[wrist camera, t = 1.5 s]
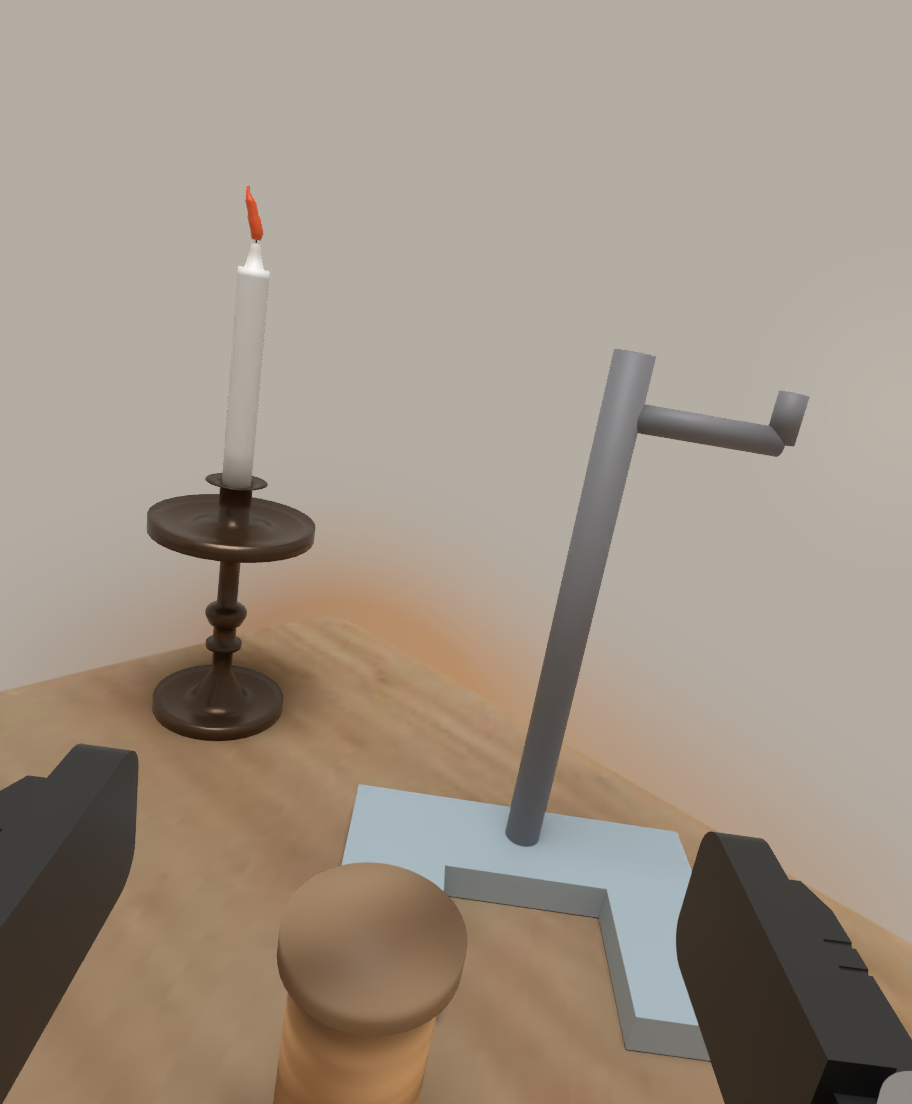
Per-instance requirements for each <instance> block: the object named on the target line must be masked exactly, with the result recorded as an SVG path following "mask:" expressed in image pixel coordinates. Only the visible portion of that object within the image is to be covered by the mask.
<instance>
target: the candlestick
mask: <svg viewBox="0 0 912 1104" xmlns="http://www.w3.org/2000/svg"><path fill="white" fill-rule="evenodd" d="M246 205H247V210H248V221H249V225H250V230H251V237H252V239H255V240H256V243H252V244H251V250H250V252H249V255H248V258H247V260H246V263H245V266H244V267H242V266H238V275H237V289H236V302H235V317H234V329H233V342H232V355H231V369H230V382H229V396H228V409H227V423H226V436H225V437H226V438H225V450H224V463H223V473H217V474H211V475H209V476H207V477H206V481H207V482H208V483H210V484H212V485H215V486H218V487H220V494H201V495H200V494H199V495H187V496H180V497H174V498H170V499H167V500H163V501H161V502H159V503H156V504H155V505H153V506H152V507H150V509H149V511H148V513H147V533H148V534H149V536H150V537H151V539H153V540H154V541H155V542H157V543H158V544H160V545H162V546H164V547H166V548H168V549H170V550H173V551H176V552H179V553H182V554H185V555H189V556H193V557H197V558H202V559H209V560H215V561H220V571H219V584H218V597H217V598H218V599H217V601H214V602H212V603H210V604H209V605H208V606H207V608H206V612H205V614H206V617H207V619H208V621H209V623H210V624H211V625H212V626H214V630H213V635H212V636H210V637H208V638H207V639H206V647H207V649H209V650H210V651H212V652H213V661H212V665H204V666H196V667H191V668H187V669H183V670H181V671H178V672H175V673H173V674H171V675H169V676H167V677H166V678H165V679H163V680H162V681H161V682H160V683H159V684H158V685H157V687H156V688H155V691H154V694H153V713H154V715H155V717H156V719H157V720H158V721H159V722H160V723H161V724H162V725H163V726H164V727H166V728H168V729H169V730H171V731H173V732H175V733H178V734H180V735H183V736H187V737H190V738H195V739H202V740H216V741H222V740H234V739H240V738H245V737H248V736H252V735H255V734H258V733H260V732H262V731H264V730H266V729H267V728H269V727H270V726H272V725H273V724H274V723H275V722H276V721H277V719H278V718H279V716H280V714H281V712H282V702H283V694H282V691H281V689H280V687H279V686H278V685H277V683H276V682H274V681H273V680H272V679H271V678H269V677H267V676H266V675H264V674H262V673H259V672H257V671H254V670H251V669H247V668H243V667H238V666H232V657H233V652H236V651H238V650H239V649H240V648H241V643H242V642H241V640H240V639H239V638H238V637H236V627H239V626H240V625H241V624H242V623H243V621H244V619H245V618H246V615H247V610H246V608H245V607H244V605H242V604H241V603H239V602H237V595H238V584H239V573H240V563H241V562H242V563H256V562H271V561H278V560H284V559H289V558H292V557H296V556H298V555H301V554H303V553H305V552H306V551H307V550H309V549H310V548H311V547H312V545H313V543H314V535H315V524H314V522H313V521H312V519H311V518H309V517H308V516H307V515H305V514H304V513H302V512H300V511H298V510H296V509H294V508H291V507H289V506H286V505H283V504H280V503H276V502H272V501H268V500H263V499H258V498H252V490H258V489H263V488H265V487H267V482H266V481H264V480H262V479H260V478H257V477H254V476H252V469H253V458H254V446H255V434H256V423H257V412H258V399H259V388H260V376H261V365H262V354H263V353H262V352H263V342H264V331H265V319H266V308H267V296H268V285H269V273H270V271H266V270H264V268H263V263H262V257H261V251H260V249H261V246H260V245H259V244H258V243H257V240H261V239H262V235H263V229H262V224H261V220H260V217H259V215H258V210H257V205H256V202H255V200H254V199H253V197H252V195H251V194H250V187H249V186H247V190H246Z"/></svg>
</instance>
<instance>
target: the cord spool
mask: <svg viewBox="0 0 912 1104" xmlns="http://www.w3.org/2000/svg"><path fill="white" fill-rule="evenodd" d="M466 950H467V933H466V928H465V924H464V921H463V918H462V916H461V914H460V912H459V910H458V908H457V907H456V905H455V904H454V902H453V901H452V900H451V899H450V897H449V896H448V895H447V894H446V893H445V892H444V891H443V890H442V889H440V888H439V887H438V886H437V885H436V884H434V883H433V882H431V881H430V880H428V879H427V878H425V877H423V876H421V875H419V874H417V873H415V872H413V871H410V870H408V869H405V868H402V867H398V866H394V865H390V864H383V863H371V862H363V863H351V864H345V865H341V866H337V867H333V868H331V869H328V870H325V871H323V872H321V873H319V874H317V875H315V876H314V877H312V878H311V879H309V880H308V881H306V882H305V883H304V884H303V885H301V886H300V887H299V888H298V889H297V890H296V892H295V893H294V894H293V895H292V897H291V898H290V900H289V901H288V903H287V905H286V907H285V909H284V911H283V915H282V919H281V924H280V932H279V940H278V949H277V964H278V970H279V974H280V977H281V980H282V982H283V984H284V987H285V988H286V990H287V992H288V993H287V1001H286V1009H285V1017H284V1024H283V1032H282V1040H281V1047H280V1055H279V1063H278V1070H277V1078H276V1086H275V1094H274V1101H273V1104H418V1101H419V1097H420V1092H421V1087H422V1082H423V1078H424V1073H425V1068H426V1064H427V1059H428V1054H429V1049H430V1045H431V1040H432V1035H433V1031H434V1026H435V1021H436V1016H437V1015H438V1014H439V1013H440V1012H441V1011H442V1010H443V1009H444V1008H445V1007H446V1006H447V1005H448V1003H449V1002H450V1001H451V999H452V998H453V996H454V994H455V992H456V990H457V988H458V985H459V982H460V979H461V974H462V970H463V965H464V961H465V956H466Z"/></svg>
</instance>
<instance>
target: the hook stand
mask: <svg viewBox="0 0 912 1104" xmlns="http://www.w3.org/2000/svg"><path fill="white" fill-rule="evenodd" d="M655 359H656V356H652V355H647V354H643V353H638V352H633V351H627V350H621V349H614V352H613V357H612V361H611V366H610V370H609V374H608V379H607V383H606V387H605V392H604V397H603V401H602V406H601V410H600V414H599V418H598V423H597V427H596V432H595V437H594V441H593V445H592V450H591V454H590V459H589V463H588V467H587V472H586V476H585V481H584V485H583V489H582V494H581V499H580V503H579V507H578V512H577V516H576V521H575V525H574V529H573V534H572V538H571V543H570V547H569V551H568V556H567V561H566V565H565V569H564V573H563V578H562V582H561V587H560V591H559V596H558V600H557V605H556V609H555V613H554V618H553V622H552V627H551V631H550V636H549V640H548V644H547V649H546V654H545V658H544V663H543V666H542V671H541V675H540V680H539V685H538V689H537V693H536V697H535V702H534V707H533V711H532V715H531V720H530V724H529V728H528V733H527V737H526V742H525V746H524V751H523V755H522V759H521V764H520V768H519V773H518V777H517V782H516V786H515V790H514V795H513V799H512V804H511V807H507V806H500V805H494V804H487V803H480V802H474V801H467V800H460V799H454V798H447V797H440V796H434V795H427V794H421V793H414V792H407V791H401V790H394V789H387V788H381V787H374V786H367V785H361V784H359V787H358V791H357V796H356V801H355V805H354V810H353V814H352V819H351V824H350V828H349V833H348V838H347V842H346V847H345V852H344V856H343V861H342V865H345V864H351V863H363V862H371V863H383V864H390V865H394V866H398V867H402V868H405V869H408V870H410V871H413V872H415V873H417V874H419V875H421V876H423V877H425V878H427V879H428V880H430V881H431V882H433V883H434V884H436V885H437V886H438V887H439V888H440V889H442V890H443V891H444V892H445V893H446V894H447V895H448V896H452V897H459V898H466V899H473V900H480V901H487V902H494V903H500V904H507V905H514V906H521V907H528V908H535V909H542V910H549V911H555V912H562V913H569V914H576V915H583V916H590V917H597V918H599V922H600V927H601V932H602V937H603V942H604V947H605V951H606V956H607V961H608V966H609V971H610V976H611V980H612V985H613V990H614V995H615V1000H616V1005H617V1010H618V1014H619V1019H620V1024H621V1029H622V1034H623V1039H624V1044H625V1048H626V1049H627V1050H634V1051H642V1052H649V1053H656V1054H663V1055H670V1056H678V1057H685V1058H692V1059H699V1060H706V1061H710V1058H709V1055H708V1052H707V1049H706V1046H705V1043H704V1040H703V1037H702V1034H701V1031H700V1028H699V1025H698V1022H697V1019H696V1016H695V1013H694V1010H693V1007H692V1004H691V1001H690V998H689V995H688V992H687V989H686V986H685V983H684V980H683V977H682V974H681V971H680V968H679V965H678V960H677V953H676V929H677V922H678V917H679V914H680V910H681V907H682V904H683V900H684V897H685V894H686V890H687V887H688V883H689V880H690V877H691V873H692V870H691V867H690V865H689V862H688V860H687V857H686V854H685V852H684V849H683V846H682V844H681V841H680V839H679V836H678V833H677V832H673V831H667V830H660V829H653V828H647V827H640V826H633V825H627V824H620V823H613V822H607V821H600V820H593V819H587V818H580V817H573V816H567V815H560V814H553V813H547V812H545V811H546V807H547V803H548V799H549V795H550V791H551V787H552V783H553V779H554V774H555V770H556V766H557V762H558V758H559V754H560V750H561V746H562V742H563V737H564V733H565V729H566V725H567V721H568V717H569V713H570V709H571V705H572V700H573V696H574V692H575V688H576V684H577V679H578V676H579V672H580V667H581V663H582V659H583V655H584V651H585V647H586V643H587V639H588V635H589V631H590V626H591V622H592V618H593V614H594V610H595V606H596V602H597V598H598V594H599V589H600V585H601V581H602V577H603V573H604V568H605V565H606V560H607V557H608V552H609V548H610V544H611V539H612V536H613V532H614V527H615V524H616V519H617V515H618V511H619V507H620V503H621V499H622V495H623V491H624V487H625V483H626V478H627V474H628V470H629V466H630V462H631V458H632V454H633V450H634V446H635V441H636V437H637V433H641V434H646V435H652V436H658V437H664V438H670V439H676V440H682V441H687V442H694V443H699V444H705V445H711V446H717V447H723V448H728V449H734V450H740V451H746V452H752V453H758V454H763V455H769V456H775V457H777V456H779V455H780V454H781V453H782V451H783V449H784V446H785V445H786V446H794V445H795V442H796V439H797V436H798V432H799V429H800V426H801V423H802V420H803V416H804V413H805V410H806V407H807V403H808V400H809V396H805V395H801V394H797V393H791V392H785V391H779V394H778V397H777V400H776V403H775V407H774V410H773V413H772V417H771V420H770V424H769V426H766V425H760V424H755V423H748V422H743V421H737V420H731V419H725V418H720V417H714V416H708V415H703V414H697V413H691V412H685V411H680V410H673V409H668V408H662V407H656V406H650V405H645V400H646V396H647V392H648V388H649V384H650V380H651V376H652V371H653V367H654V363H655Z"/></svg>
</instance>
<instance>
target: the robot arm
mask: <svg viewBox="0 0 912 1104" xmlns="http://www.w3.org/2000/svg"><path fill="white" fill-rule="evenodd" d="M137 787H138V757H137V754H136V752H135V751H130V750H123V749H115V748H108V747H101V746H93V745H86V744H77V745H76V746H74V747H73V748H72V749H71V751H70V752H69V753H68V754H67V755H66V756H65V758H64V759H63V760H62V761H61V762H60V763H59V765H58V766H57V767H56V768H55V769H54V770H53V772H52V773H51V774H50V775H49V776H48V777H47V778H43V777H36V776H26V777H24V778H22V779H21V780H19V781H17V782H15V783H14V784H12V785H10V786H8V787H6V788H5V789H3V790H1V791H0V1104H2V1103H3V1101H4V1100H5V1098H6V1096H7V1094H8V1093H9V1091H10V1089H11V1087H12V1085H13V1084H14V1082H15V1080H16V1078H17V1077H18V1075H19V1073H20V1071H21V1070H22V1068H23V1066H24V1064H25V1062H26V1061H27V1059H28V1057H29V1055H30V1054H31V1052H32V1050H33V1048H34V1047H35V1045H36V1043H37V1041H38V1040H39V1038H40V1036H41V1034H42V1032H43V1031H44V1029H45V1027H46V1025H47V1024H48V1022H49V1020H50V1018H51V1017H52V1015H53V1013H54V1011H55V1009H56V1008H57V1006H58V1004H59V1002H60V1001H61V999H62V997H63V995H64V994H65V992H66V990H67V988H68V986H69V985H70V983H71V981H72V979H73V978H74V976H75V974H76V972H77V971H78V969H79V967H80V965H81V963H82V962H83V960H84V958H85V956H86V955H87V953H88V951H89V949H90V948H91V946H92V944H93V942H94V941H95V939H96V937H97V935H98V933H99V932H100V930H101V928H102V926H103V925H104V923H105V921H106V919H107V918H108V916H109V914H110V912H111V910H112V909H113V907H114V905H115V903H116V902H117V900H118V898H119V896H120V894H121V892H122V890H123V888H124V886H125V883H126V881H127V878H128V875H129V872H130V868H131V864H132V860H133V855H134V848H135V832H136V810H137ZM851 943H852V942H851V941H850V939H849V937H848V936H847V934H846V933H845V931H844V929H843V928H842V926H841V924H840V923H839V921H838V920H837V918H836V916H835V915H834V913H833V911H832V910H831V909H830V908H829V907H828V906H827V905H825V904H824V903H823V902H822V901H821V900H820V899H819V898H818V897H817V896H816V895H815V894H814V893H813V892H812V891H810V890H809V889H808V888H807V887H806V886H805V885H804V884H803V883H802V882H801V881H795V880H789V879H788V877H787V876H786V874H785V872H784V870H783V869H782V867H781V865H780V863H779V862H778V860H777V858H776V857H775V855H774V853H773V851H772V850H771V848H770V846H769V845H768V843H767V842H766V841H765V840H763V839H761V838H754V837H746V836H739V835H732V834H725V833H717V832H708V833H707V834H706V835H705V836H704V837H703V839H702V841H701V844H700V847H699V850H698V853H697V857H696V860H695V863H694V867H693V870H692V873H691V877H690V880H689V883H688V887H687V890H686V894H685V897H684V900H683V904H682V907H681V910H680V914H679V917H678V922H677V929H676V953H677V960H678V965H679V968H680V971H681V974H682V977H683V980H684V983H685V986H686V989H687V992H688V995H689V998H690V1001H691V1004H692V1007H693V1010H694V1013H695V1016H696V1019H697V1022H698V1025H699V1028H700V1031H701V1034H702V1037H703V1040H704V1043H705V1046H706V1049H707V1052H708V1055H709V1058H710V1061H711V1064H712V1067H713V1070H714V1073H715V1076H716V1079H717V1082H718V1085H719V1088H720V1091H721V1094H722V1097H723V1100H724V1102H725V1104H912V1039H911V1038H910V1036H909V1035H908V1033H907V1031H906V1030H905V1028H904V1026H903V1025H902V1023H901V1022H900V1020H899V1018H898V1017H897V1015H896V1013H895V1012H894V1010H893V1009H892V1007H891V1005H890V1004H889V1002H888V1001H887V999H886V997H885V996H884V994H883V992H882V991H881V989H880V988H879V986H878V984H877V983H876V981H875V979H874V978H873V976H869V975H868V968H867V967H866V965H865V963H864V962H863V960H862V958H861V957H860V955H859V954H858V952H857V950H856V949H852V946H851Z"/></svg>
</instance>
